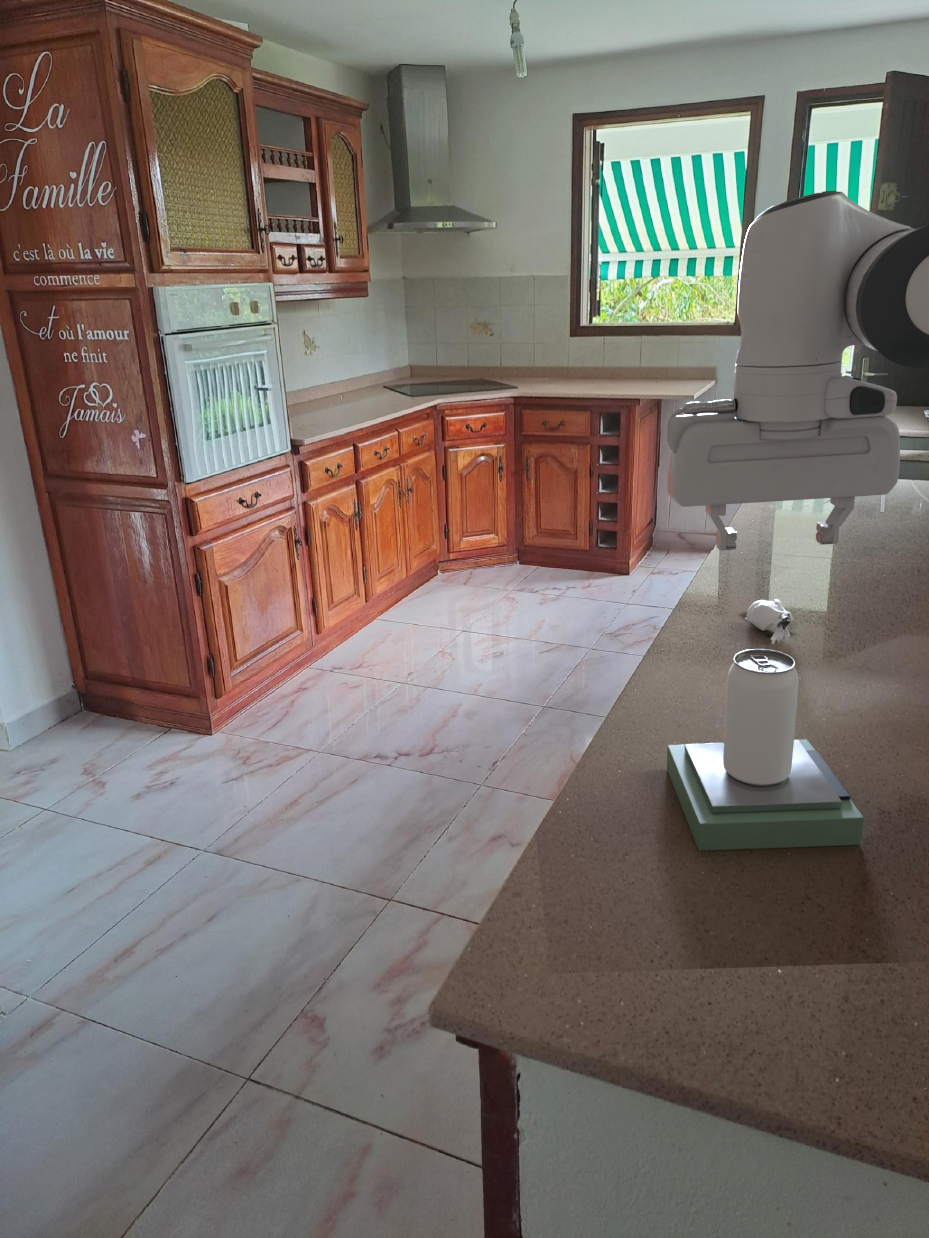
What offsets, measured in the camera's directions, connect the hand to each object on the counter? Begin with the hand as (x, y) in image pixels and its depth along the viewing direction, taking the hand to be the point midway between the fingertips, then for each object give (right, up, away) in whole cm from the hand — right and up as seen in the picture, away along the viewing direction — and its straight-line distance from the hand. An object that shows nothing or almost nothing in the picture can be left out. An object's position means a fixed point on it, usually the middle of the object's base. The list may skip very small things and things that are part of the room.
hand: (776, 545), depth 83 cm
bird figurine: (+16, -9, +49) cm, 52 cm away
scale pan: (0, -23, +5) cm, 23 cm away
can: (0, -22, +5) cm, 23 cm away
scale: (0, -26, +6) cm, 26 cm away
